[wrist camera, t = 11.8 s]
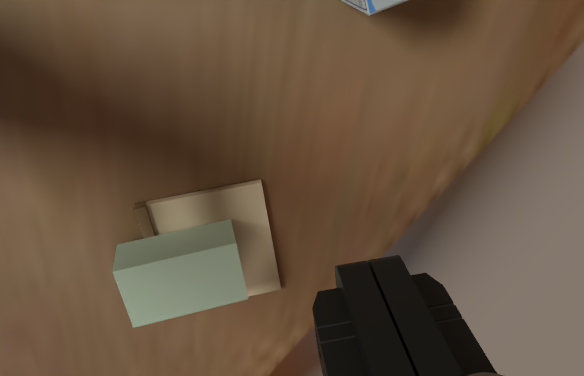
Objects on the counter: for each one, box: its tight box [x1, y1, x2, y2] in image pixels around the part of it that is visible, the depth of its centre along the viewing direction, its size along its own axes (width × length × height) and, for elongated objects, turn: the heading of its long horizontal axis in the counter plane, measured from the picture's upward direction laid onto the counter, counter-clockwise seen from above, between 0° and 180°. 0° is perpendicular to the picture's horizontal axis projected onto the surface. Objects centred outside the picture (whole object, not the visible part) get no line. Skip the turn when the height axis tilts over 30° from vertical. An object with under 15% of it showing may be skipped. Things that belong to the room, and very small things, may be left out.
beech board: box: [134, 179, 281, 296], centre depth 46 cm, size 11×12×1 cm
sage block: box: [112, 219, 248, 328], centre depth 43 cm, size 4×6×10 cm
